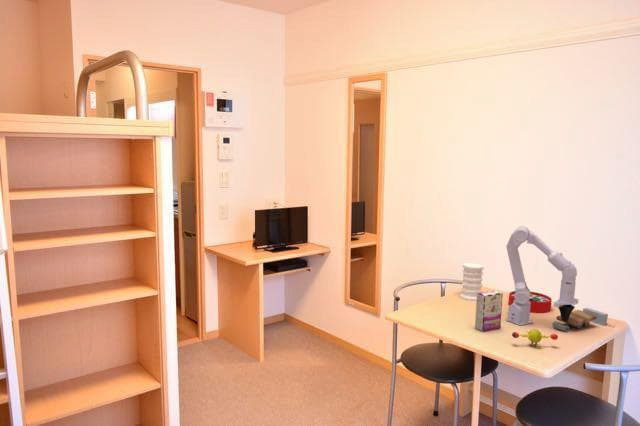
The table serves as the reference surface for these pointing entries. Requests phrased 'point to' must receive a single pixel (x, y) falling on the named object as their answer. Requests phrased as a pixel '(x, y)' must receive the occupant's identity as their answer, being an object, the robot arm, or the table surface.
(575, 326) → the roller
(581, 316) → the slab
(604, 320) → the block
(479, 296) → the candy bar box
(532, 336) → the toy figure
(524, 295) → the robot arm
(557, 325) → the roller
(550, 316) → the table surface
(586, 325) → the roller
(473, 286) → the decorative container
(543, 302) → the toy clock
